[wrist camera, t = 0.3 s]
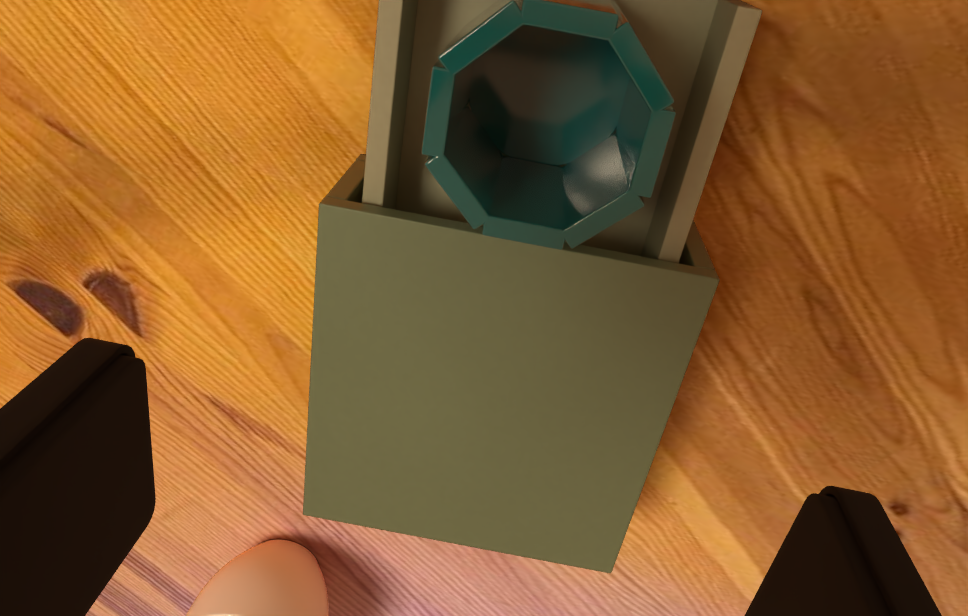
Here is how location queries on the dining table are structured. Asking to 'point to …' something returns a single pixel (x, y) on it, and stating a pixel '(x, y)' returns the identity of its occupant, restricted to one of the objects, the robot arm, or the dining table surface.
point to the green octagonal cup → (546, 120)
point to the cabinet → (490, 380)
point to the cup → (266, 584)
